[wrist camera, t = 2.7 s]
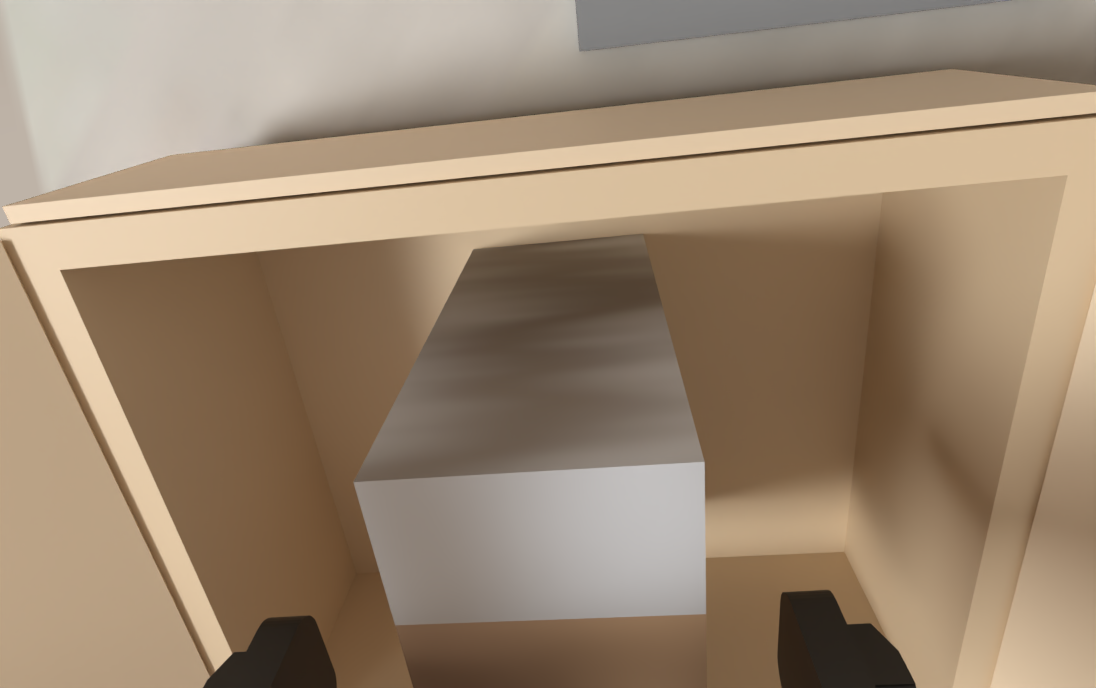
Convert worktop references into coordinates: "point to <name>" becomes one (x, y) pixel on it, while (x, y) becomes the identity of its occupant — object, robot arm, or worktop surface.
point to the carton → (698, 339)
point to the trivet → (722, 17)
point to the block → (544, 481)
